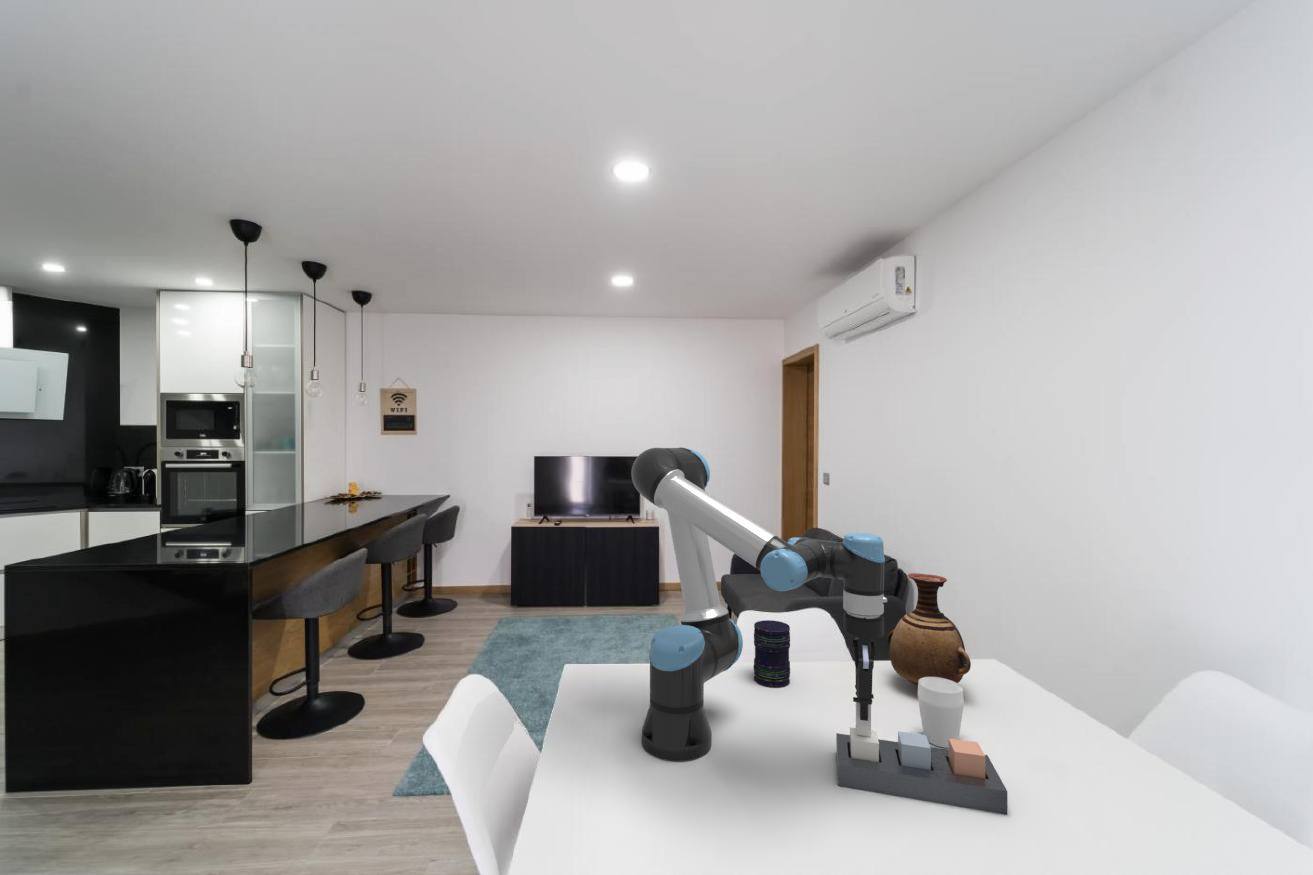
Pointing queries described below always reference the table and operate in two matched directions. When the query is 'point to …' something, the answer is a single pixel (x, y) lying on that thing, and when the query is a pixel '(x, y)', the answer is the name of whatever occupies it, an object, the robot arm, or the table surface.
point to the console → (920, 778)
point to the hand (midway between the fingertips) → (863, 733)
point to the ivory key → (864, 746)
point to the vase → (927, 638)
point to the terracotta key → (966, 758)
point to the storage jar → (772, 654)
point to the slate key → (914, 750)
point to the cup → (940, 709)
